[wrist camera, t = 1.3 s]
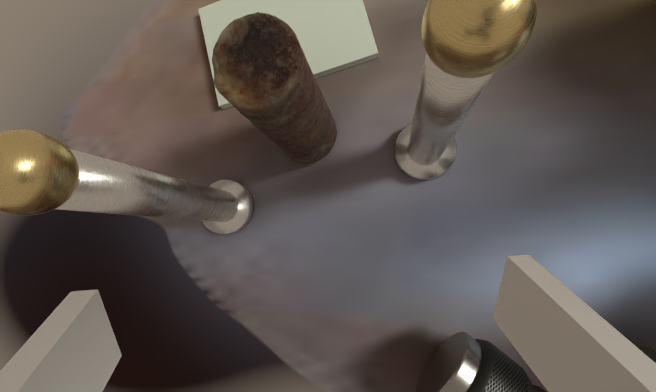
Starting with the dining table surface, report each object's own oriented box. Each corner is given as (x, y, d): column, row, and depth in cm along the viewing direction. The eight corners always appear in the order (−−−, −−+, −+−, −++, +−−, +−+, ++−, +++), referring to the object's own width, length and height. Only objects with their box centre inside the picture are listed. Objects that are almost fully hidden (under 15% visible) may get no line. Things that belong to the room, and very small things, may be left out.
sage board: (202, 14, 49) (198, 9, 48) (349, -42, 46) (347, -49, 45) (223, 109, 47) (218, 106, 46) (378, 57, 43) (378, 52, 42)
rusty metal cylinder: (345, 114, 43) (309, 15, 24) (333, 169, 43) (285, 114, 23) (289, 105, 45) (212, 6, 25) (277, 159, 44) (188, 99, 25)
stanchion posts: (200, 189, 46) (-80, 121, 19) (444, 116, 41) (551, -120, 14) (210, 239, 45) (-73, 246, 17) (461, 171, 40) (616, 32, 13)
